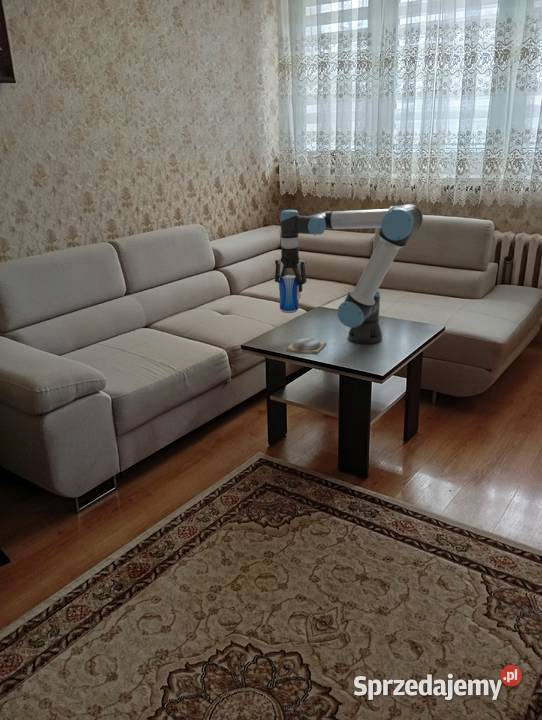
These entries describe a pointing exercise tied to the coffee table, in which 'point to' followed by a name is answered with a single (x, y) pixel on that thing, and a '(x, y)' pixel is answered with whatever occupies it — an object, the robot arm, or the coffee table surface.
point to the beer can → (288, 294)
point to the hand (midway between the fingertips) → (291, 298)
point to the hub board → (307, 345)
